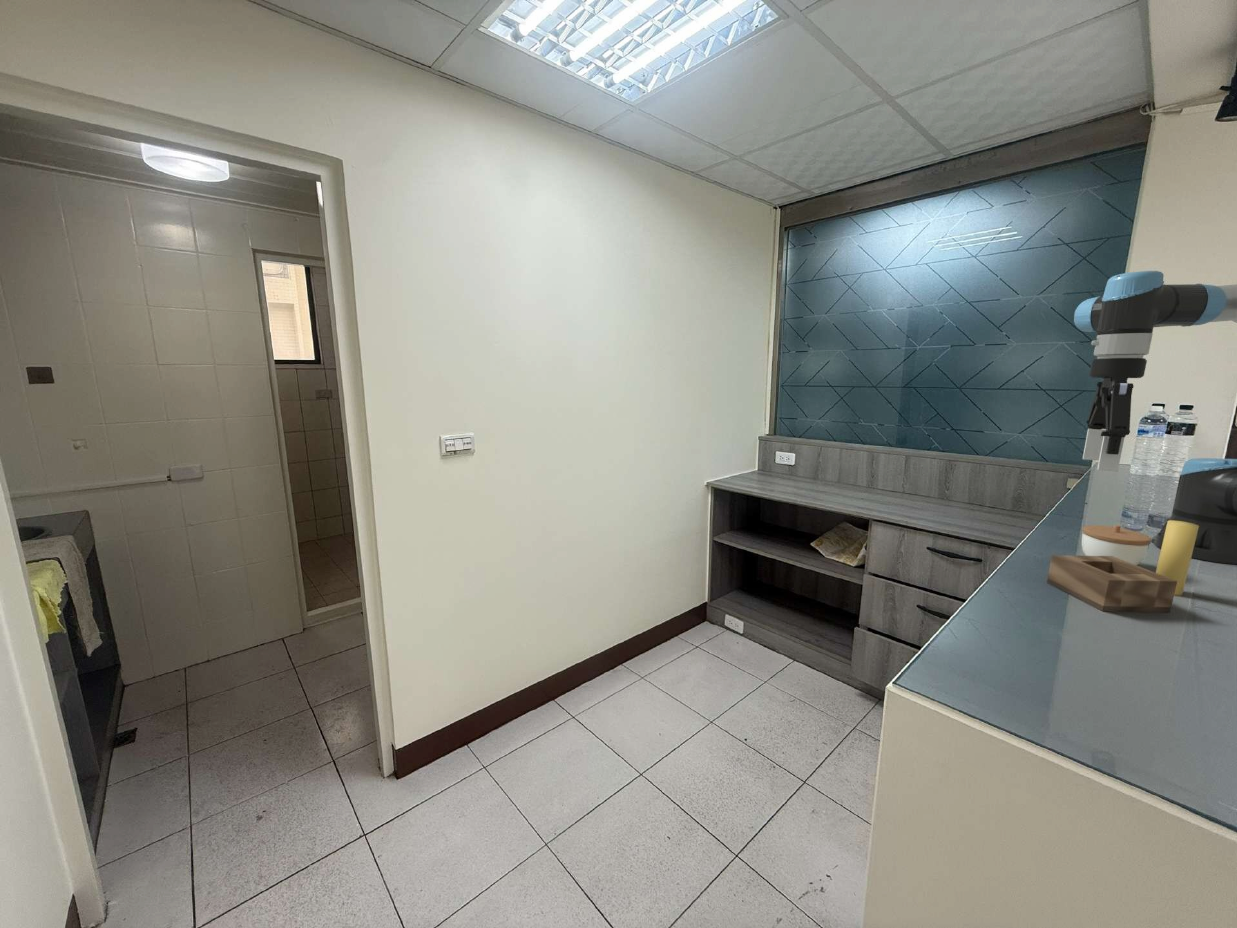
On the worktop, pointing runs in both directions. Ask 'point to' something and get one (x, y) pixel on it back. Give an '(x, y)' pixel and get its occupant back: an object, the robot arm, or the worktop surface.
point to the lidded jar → (1115, 543)
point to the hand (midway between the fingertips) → (1098, 465)
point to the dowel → (1177, 552)
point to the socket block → (1111, 583)
